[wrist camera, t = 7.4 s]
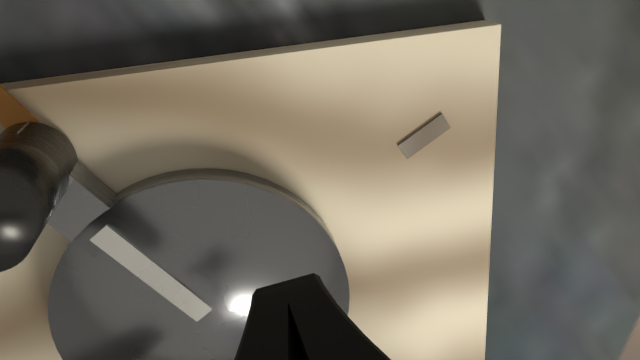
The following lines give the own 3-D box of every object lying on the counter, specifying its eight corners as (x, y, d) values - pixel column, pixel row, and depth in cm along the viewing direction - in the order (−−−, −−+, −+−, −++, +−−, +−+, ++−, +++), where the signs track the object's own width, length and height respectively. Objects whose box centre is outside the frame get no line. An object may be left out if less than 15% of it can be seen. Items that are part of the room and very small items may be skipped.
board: (472, 376, 28) (484, 397, 26) (-16, 482, 25) (-29, 511, 23) (486, 6, 20) (504, 10, 18) (-230, 98, 17) (-265, 110, 16)
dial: (394, 291, 23) (436, 374, 18) (204, 437, 24) (202, 546, 20) (123, 16, 16) (90, 44, 12) (-110, 237, 18) (-213, 332, 14)
